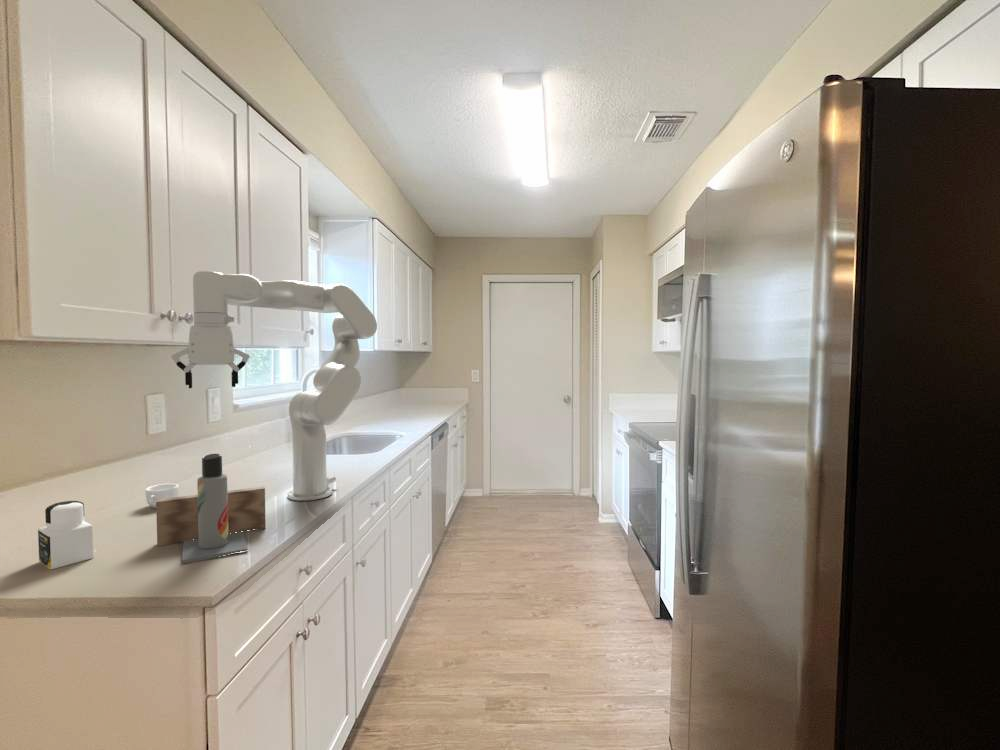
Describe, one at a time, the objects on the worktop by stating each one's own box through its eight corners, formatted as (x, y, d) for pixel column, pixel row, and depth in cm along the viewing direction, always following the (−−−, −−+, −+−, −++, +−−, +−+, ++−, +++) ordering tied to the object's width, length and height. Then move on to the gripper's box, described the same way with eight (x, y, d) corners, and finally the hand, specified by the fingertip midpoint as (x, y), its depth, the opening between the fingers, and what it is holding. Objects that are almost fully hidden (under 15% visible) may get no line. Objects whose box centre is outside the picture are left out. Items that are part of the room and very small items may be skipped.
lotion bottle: (233, 539, 113) (231, 452, 112) (219, 549, 107) (217, 457, 106) (208, 539, 113) (206, 452, 112) (193, 549, 107) (190, 457, 106)
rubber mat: (243, 534, 118) (243, 531, 118) (247, 552, 108) (247, 548, 108) (183, 544, 112) (183, 541, 112) (182, 564, 102) (182, 560, 102)
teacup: (155, 502, 144) (155, 483, 144) (184, 501, 145) (183, 483, 145) (135, 513, 134) (134, 493, 134) (166, 512, 135) (165, 492, 135)
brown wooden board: (264, 526, 124) (263, 486, 124) (265, 528, 122) (264, 488, 122) (157, 543, 113) (156, 499, 112) (157, 546, 111) (156, 502, 111)
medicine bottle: (38, 562, 102) (36, 504, 102) (82, 550, 108) (80, 496, 108) (50, 570, 99) (47, 510, 98) (94, 558, 104) (92, 501, 104)
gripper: (247, 322, 135) (248, 385, 136) (171, 320, 126) (172, 387, 127) (250, 321, 129) (251, 387, 129) (169, 318, 120) (171, 389, 120)
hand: (212, 387), depth 128 cm, fingers open, 9 cm apart
